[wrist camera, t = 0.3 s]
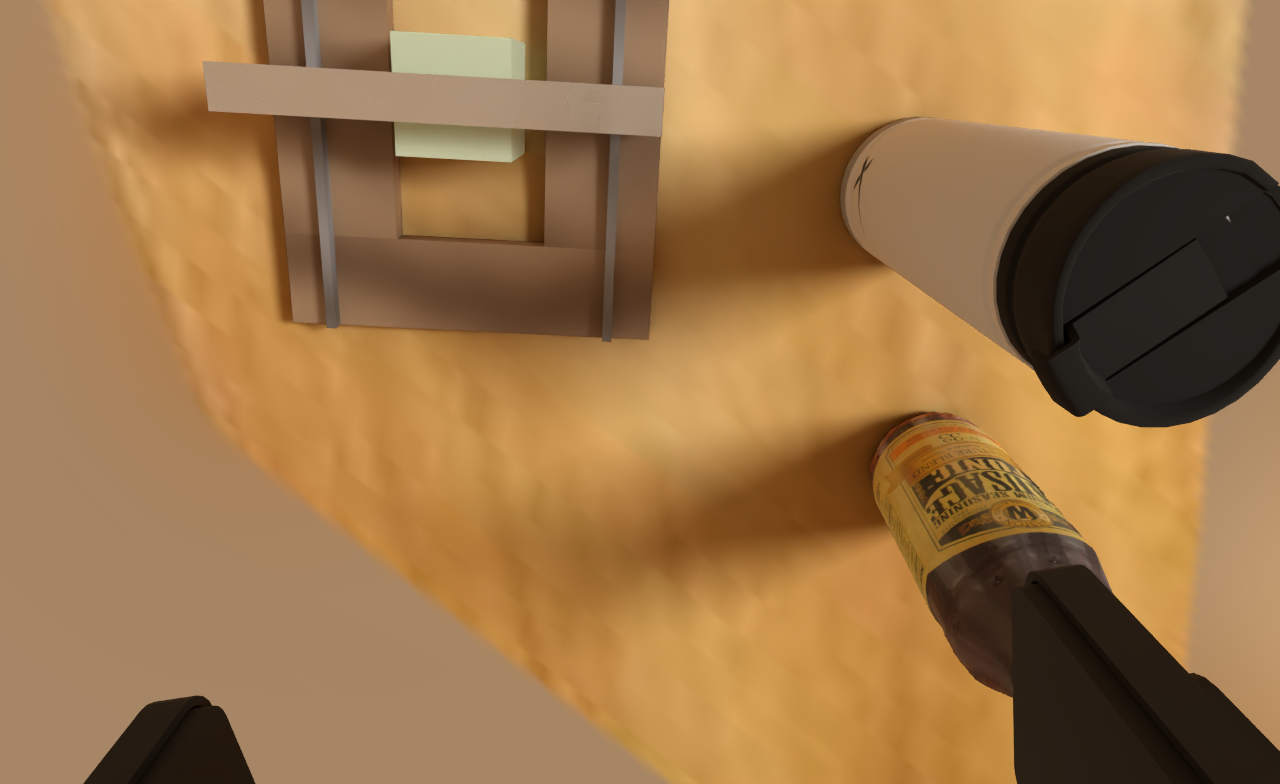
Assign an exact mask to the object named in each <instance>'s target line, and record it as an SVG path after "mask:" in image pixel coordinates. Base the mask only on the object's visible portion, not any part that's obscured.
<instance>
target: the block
mask: <svg viewBox="0 0 1280 784" xmlns="http://www.w3.org/2000/svg"><path fill="white" fill-rule="evenodd" d="M390 43H391V65H392V72H401V73H418V74H435V75H452V76H469V77H487V78H504V79H521V80H525V43H523V42H521V41H518V40H515V39H513V38H503V37H486V36H469V35H453V34H436V33H419V32H402V31H390ZM394 130H395V152H396V156H406V157H424V158H442V159H460V160H478V161H496V162H512V161H514V160H515V159H517V158H518V157H520V156H521V155H523V154H525V129H516V128H498V127H481V126H463V125H445V124H427V123H410V122H394Z"/></svg>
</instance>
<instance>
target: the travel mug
mask: <svg viewBox="0 0 1280 784" xmlns="http://www.w3.org/2000/svg"><path fill="white" fill-rule="evenodd" d="M1278 184H1279V183H1278V182H1277V181H1276V180H1274V179H1273V178H1272V177H1271V176H1270V175H1269V174H1267V173H1266V172H1265V171H1264V170H1263V169H1262V168H1261V167H1259V166H1258V165H1257V164H1256V163H1255V162H1253V161H1251V160H1248V159H1244V158H1241V157H1237V156H1234V155H1230V154H1222V153H1214V152H1206V151H1198V150H1190V149H1179V148H1176V147H1172V146H1169V145H1165V144H1160V143H1147V142H1142V141H1133V140H1125V139H1116V138H1107V137H1098V136H1089V135H1081V134H1072V133H1063V132H1054V131H1045V130H1037V129H1028V128H1019V127H1010V126H1001V125H992V124H984V123H975V122H966V121H957V120H948V119H940V118H931V117H911V118H905V119H900V120H897V121H895V122H892V123H889V124H887V125H885V126H884V127H882V128H880V129H879V130H877V131H875V132H874V133H873V134H872V135H870V136H869V137H868V138H867V139H866V140H865V141H864V142H863V143H862V144H861V145H860V146H859V148H858V149H857V150H856V151H855V153H854V154H853V156H852V158H851V159H850V161H849V163H848V165H847V167H846V170H845V173H844V176H843V179H842V183H841V191H840V204H841V212H842V216H843V220H844V223H845V225H846V227H847V229H848V231H849V233H850V235H851V236H852V237H853V238H854V240H855V241H856V242H857V243H858V245H860V246H861V247H862V248H863V249H865V250H866V251H867V252H868V253H870V254H871V255H873V256H874V257H875V258H877V259H878V260H880V261H881V262H882V263H884V264H885V265H887V266H888V267H889V268H891V269H892V270H894V271H895V272H896V273H898V274H899V275H901V276H902V277H903V278H905V279H906V280H908V281H909V282H910V283H912V284H913V285H915V286H916V287H917V288H919V289H920V290H922V291H923V292H925V293H926V294H927V295H929V296H930V297H932V298H933V299H934V300H936V301H937V302H939V303H940V304H941V305H943V306H944V307H946V308H947V309H948V310H950V311H951V312H953V313H954V314H955V315H957V316H958V317H960V318H961V319H962V320H964V321H965V322H967V323H968V324H970V325H971V326H972V327H974V328H975V329H977V330H978V331H979V332H981V333H982V334H984V335H985V336H986V337H988V338H989V339H991V340H992V341H993V342H995V343H996V344H998V345H999V346H1000V347H1002V348H1003V349H1005V350H1006V351H1007V352H1009V353H1010V354H1012V355H1013V356H1014V357H1016V358H1017V359H1019V360H1020V361H1022V362H1023V363H1025V364H1026V365H1028V366H1029V367H1030V368H1031V369H1033V370H1034V371H1035V372H1036V374H1037V376H1038V378H1039V379H1040V381H1041V383H1042V385H1043V386H1044V388H1045V389H1046V391H1047V392H1048V394H1049V395H1050V397H1051V398H1052V400H1053V401H1054V402H1056V403H1057V404H1058V405H1060V406H1061V407H1063V408H1064V409H1065V410H1067V411H1068V412H1070V413H1071V414H1073V415H1074V416H1076V417H1081V416H1085V415H1086V414H1088V413H1090V412H1091V411H1093V410H1095V411H1097V412H1099V413H1100V414H1102V415H1104V416H1106V417H1108V418H1110V419H1113V420H1115V421H1117V422H1120V423H1124V424H1129V425H1133V426H1138V427H1170V426H1175V425H1180V424H1186V423H1191V422H1193V421H1196V420H1198V419H1201V418H1204V417H1206V416H1209V415H1212V414H1214V413H1216V412H1218V411H1219V410H1221V409H1223V408H1224V407H1226V406H1228V405H1229V404H1231V403H1233V402H1235V401H1237V400H1238V399H1239V398H1241V397H1242V396H1243V395H1244V394H1245V393H1247V392H1248V391H1249V390H1250V389H1252V388H1253V387H1254V386H1255V385H1256V384H1257V383H1259V382H1260V380H1261V379H1263V377H1264V376H1265V375H1266V374H1267V373H1268V372H1269V371H1270V370H1271V369H1272V367H1273V366H1274V365H1275V364H1276V363H1277V362H1278V360H1279V359H1280V186H1278Z"/></svg>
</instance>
